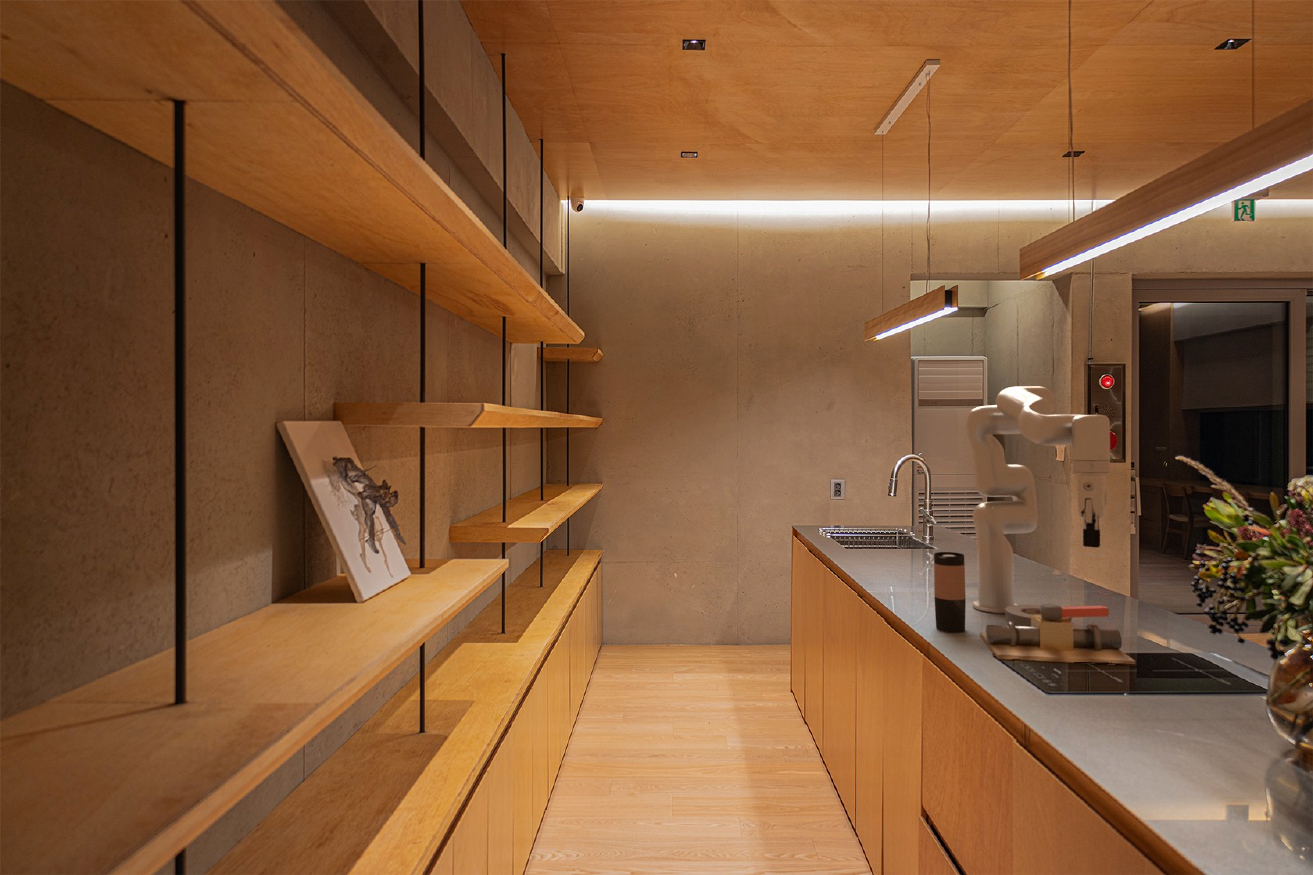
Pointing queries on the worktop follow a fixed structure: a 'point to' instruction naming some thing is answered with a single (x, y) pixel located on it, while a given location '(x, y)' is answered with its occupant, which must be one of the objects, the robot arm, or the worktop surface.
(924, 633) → the worktop surface
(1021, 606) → the tape roll
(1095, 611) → the lever
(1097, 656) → the mount board
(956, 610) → the travel mug
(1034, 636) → the valve
